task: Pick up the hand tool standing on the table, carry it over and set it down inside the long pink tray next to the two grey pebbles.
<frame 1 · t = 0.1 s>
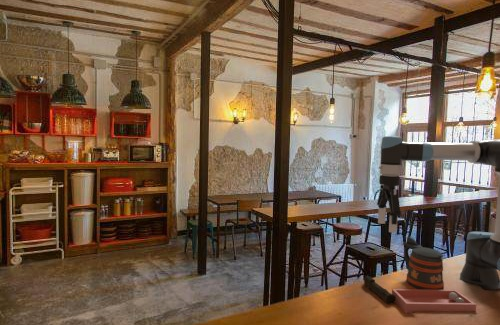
hand: (386, 227, 135), 28 cm above the table, fingers open, 13 cm apart
pink tray: (431, 305, 129), on the table
beer stein: (419, 287, 146), on the table
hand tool: (375, 294, 138), on the table
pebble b: (459, 305, 127), point 1 cm above the table, touching pink tray
pebble a: (453, 300, 131), point 1 cm above the table, touching pink tray
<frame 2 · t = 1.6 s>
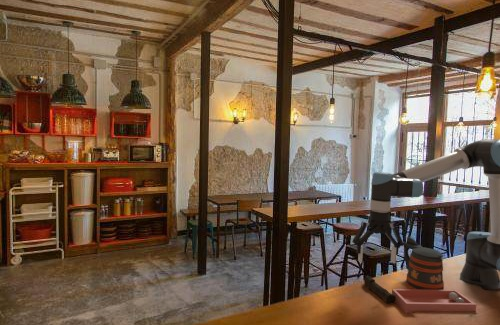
hand: (376, 261, 137), 13 cm above the table, fingers open, 13 cm apart
nothing on the table moved.
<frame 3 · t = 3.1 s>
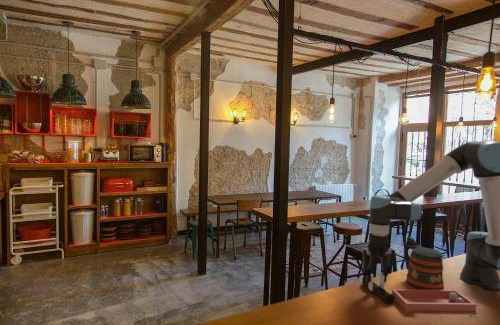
hand: (376, 289, 138), 2 cm above the table, fingers closed on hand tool, 4 cm apart
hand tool: (374, 294, 138), on the table, touching gripper
everything else where it was.
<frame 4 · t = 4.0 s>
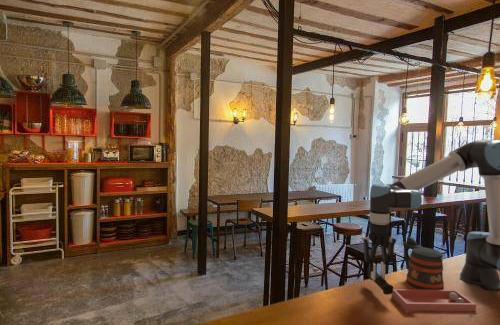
hand: (377, 278, 138), 6 cm above the table, fingers closed on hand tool, 3 cm apart
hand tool: (376, 284, 138), point 4 cm above the table, touching gripper
everything else where it was.
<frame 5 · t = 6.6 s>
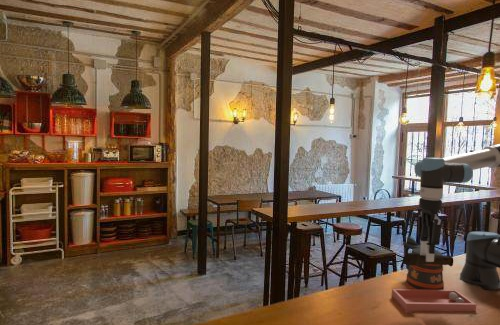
hand: (426, 259, 128), 18 cm above the table, fingers closed on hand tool, 3 cm apart
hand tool: (427, 266, 127), point 16 cm above the table, touching gripper
everything else where it was.
when the fingers open (5 cm above the table, at t = 9.0 s): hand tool stays where it is, resting on pink tray.
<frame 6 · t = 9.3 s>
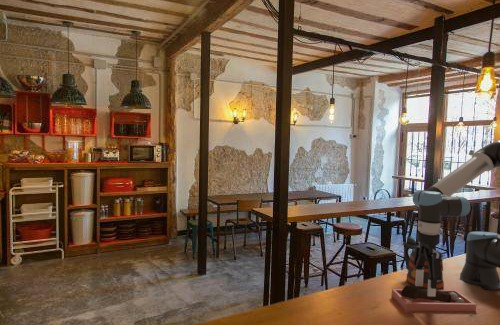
hand: (425, 290, 129), 6 cm above the table, fingers open, 8 cm apart
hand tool: (425, 300, 128), point 2 cm above the table, touching pink tray
everything else where it was.
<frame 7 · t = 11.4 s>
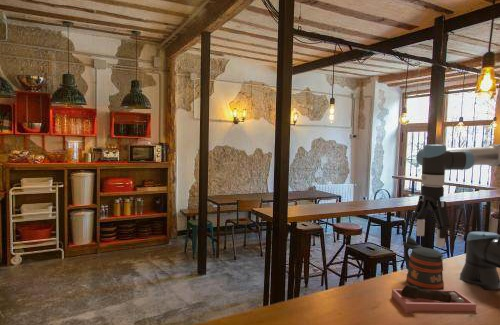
hand: (429, 240, 128), 25 cm above the table, fingers open, 13 cm apart
nothing on the table moved.
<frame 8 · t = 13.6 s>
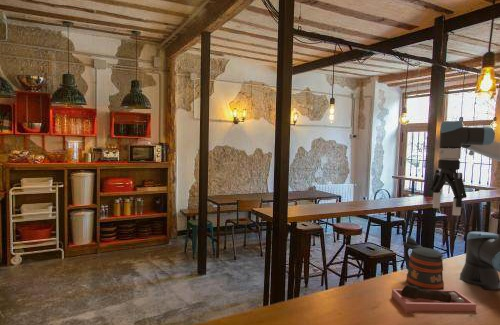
hand: (445, 211, 137), 35 cm above the table, fingers open, 13 cm apart
nothing on the table moved.
at the end: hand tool inside the target area on the pink tray (3.1 cm from its centre), point 2.1 cm above the pink tray's base; the gripper is holding nothing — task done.
